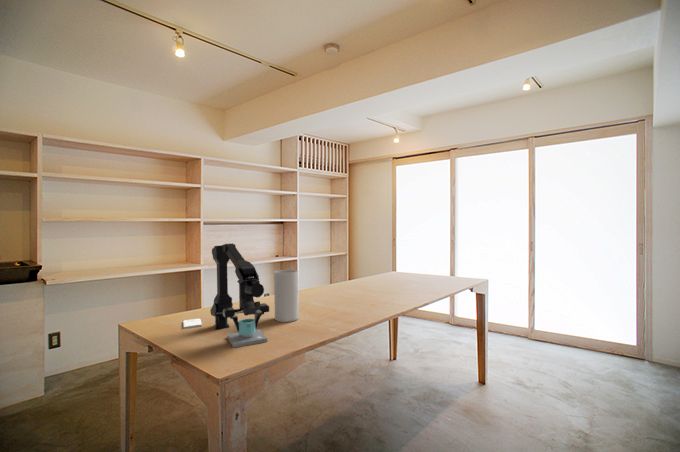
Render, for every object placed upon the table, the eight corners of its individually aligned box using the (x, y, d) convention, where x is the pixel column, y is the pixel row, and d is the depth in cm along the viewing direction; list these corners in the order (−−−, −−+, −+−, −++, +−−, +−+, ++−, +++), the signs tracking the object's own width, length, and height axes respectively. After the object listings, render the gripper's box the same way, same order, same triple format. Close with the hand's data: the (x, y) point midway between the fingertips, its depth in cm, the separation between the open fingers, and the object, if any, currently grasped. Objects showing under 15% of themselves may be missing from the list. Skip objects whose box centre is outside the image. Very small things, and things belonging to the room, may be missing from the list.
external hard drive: (183, 330, 160) (183, 323, 171) (202, 327, 164) (200, 321, 175) (183, 326, 160) (183, 320, 171) (202, 324, 164) (200, 318, 175)
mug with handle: (237, 331, 145) (236, 320, 145) (253, 328, 149) (253, 317, 149) (240, 337, 138) (240, 325, 138) (257, 334, 141) (257, 322, 141)
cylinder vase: (294, 323, 167) (293, 273, 167) (270, 322, 169) (270, 272, 169) (302, 316, 179) (301, 269, 179) (280, 315, 182) (279, 269, 181)
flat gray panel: (227, 337, 147) (227, 324, 147) (259, 332, 153) (259, 319, 153) (233, 347, 135) (232, 333, 134) (267, 341, 141) (267, 327, 141)
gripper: (226, 300, 132) (227, 339, 132) (272, 295, 141) (273, 331, 141) (222, 295, 142) (223, 331, 142) (265, 290, 151) (266, 324, 151)
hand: (246, 330), depth 144 cm, fingers closed on mug with handle, 7 cm apart
